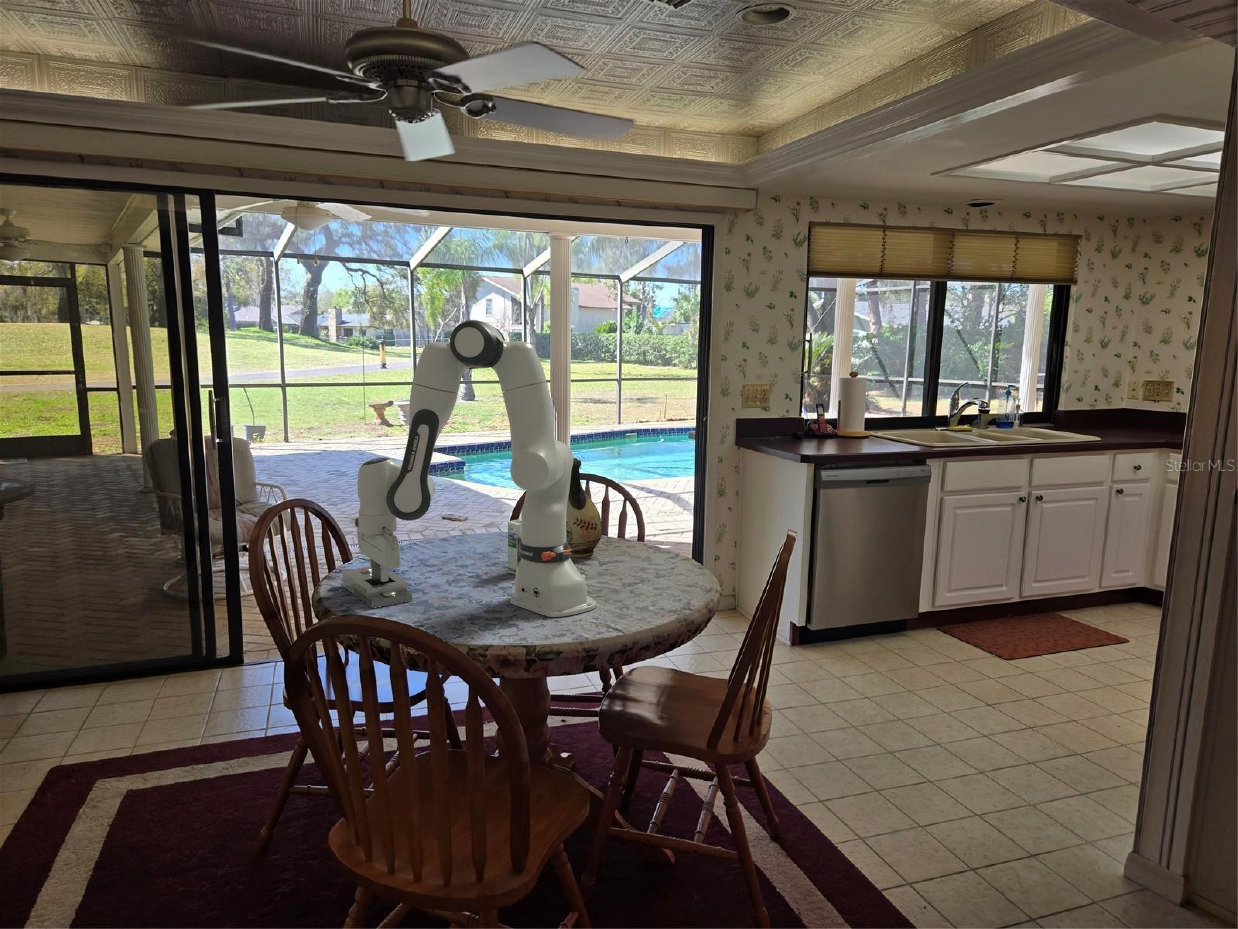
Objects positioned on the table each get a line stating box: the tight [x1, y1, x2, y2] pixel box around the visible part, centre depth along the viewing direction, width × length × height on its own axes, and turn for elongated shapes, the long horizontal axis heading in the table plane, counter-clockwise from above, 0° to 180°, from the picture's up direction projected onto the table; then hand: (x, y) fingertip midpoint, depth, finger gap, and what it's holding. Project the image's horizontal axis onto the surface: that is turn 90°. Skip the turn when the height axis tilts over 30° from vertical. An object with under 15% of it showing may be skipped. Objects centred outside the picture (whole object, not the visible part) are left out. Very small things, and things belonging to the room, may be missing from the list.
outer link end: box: [341, 566, 408, 598], centre depth 196 cm, size 19×10×5 cm, turn 37°
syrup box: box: [507, 519, 522, 576], centre depth 213 cm, size 6×6×14 cm
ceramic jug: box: [566, 457, 604, 558], centre depth 231 cm, size 17×15×30 cm
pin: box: [370, 560, 389, 586], centre depth 192 cm, size 4×4×9 cm
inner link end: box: [353, 588, 413, 609], centre depth 191 cm, size 13×10×3 cm
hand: (380, 578), depth 192 cm, fingers closed on pin, 4 cm apart
